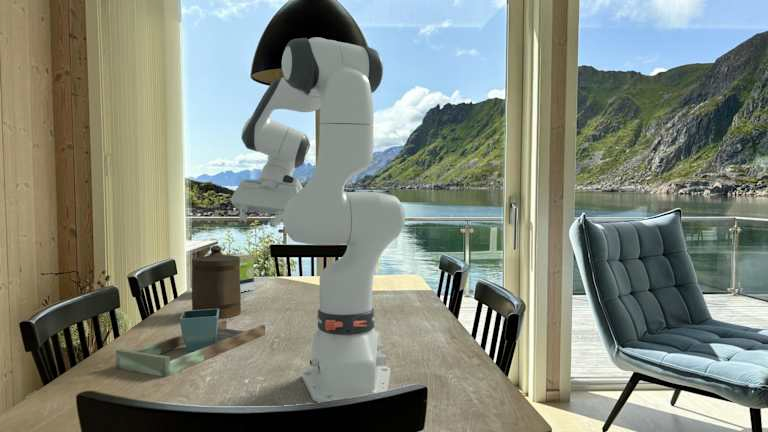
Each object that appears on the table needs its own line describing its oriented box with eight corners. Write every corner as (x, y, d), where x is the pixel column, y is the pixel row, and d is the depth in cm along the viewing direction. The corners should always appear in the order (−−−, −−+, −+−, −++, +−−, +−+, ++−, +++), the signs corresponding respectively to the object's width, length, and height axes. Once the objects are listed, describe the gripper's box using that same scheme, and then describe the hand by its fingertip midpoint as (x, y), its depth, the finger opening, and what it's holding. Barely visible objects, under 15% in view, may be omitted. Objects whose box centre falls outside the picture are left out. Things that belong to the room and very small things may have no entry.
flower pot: (180, 355, 127) (179, 318, 126) (183, 345, 135) (183, 310, 135) (218, 352, 129) (217, 316, 129) (219, 342, 138) (219, 308, 137)
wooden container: (238, 307, 179) (237, 242, 178) (243, 317, 165) (242, 247, 164) (191, 311, 174) (190, 244, 173) (192, 321, 160) (191, 249, 159)
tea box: (226, 297, 196) (225, 257, 195) (207, 294, 201) (206, 256, 200) (255, 290, 209) (254, 253, 208) (236, 288, 214) (235, 252, 213)
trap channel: (223, 329, 151) (222, 315, 150) (265, 334, 145) (265, 320, 145) (116, 368, 118) (115, 350, 118) (165, 376, 112) (165, 358, 112)
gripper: (237, 172, 152) (219, 213, 146) (302, 179, 146) (286, 222, 140) (246, 184, 157) (228, 224, 151) (309, 192, 152) (293, 234, 145)
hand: (257, 223), depth 145 cm, fingers open, 8 cm apart
